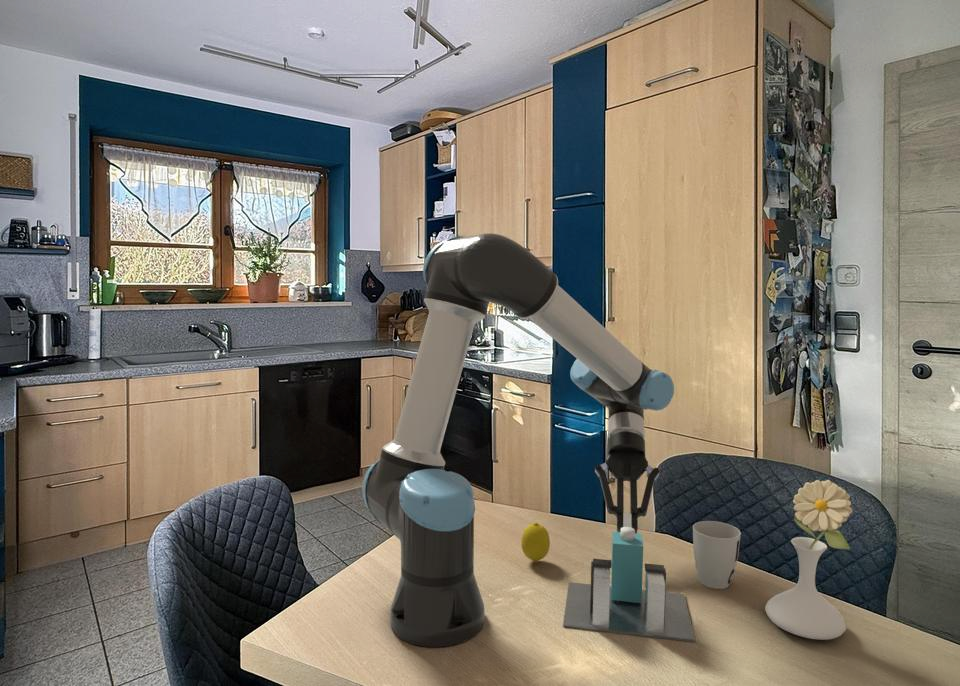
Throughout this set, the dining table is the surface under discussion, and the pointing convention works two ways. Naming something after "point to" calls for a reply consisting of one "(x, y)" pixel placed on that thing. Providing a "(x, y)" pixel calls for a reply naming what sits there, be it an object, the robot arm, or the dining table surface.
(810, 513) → the flower in vase
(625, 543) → the teal post
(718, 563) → the cup
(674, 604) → the steel clamp
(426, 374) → the robot arm
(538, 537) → the lemon
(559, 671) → the dining table surface
